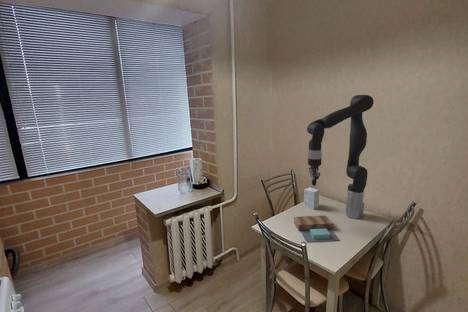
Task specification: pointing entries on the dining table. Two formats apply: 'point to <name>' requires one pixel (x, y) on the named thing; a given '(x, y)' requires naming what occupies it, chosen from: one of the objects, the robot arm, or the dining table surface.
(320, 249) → the dining table surface
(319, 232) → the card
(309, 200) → the small box
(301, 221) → the brown wooden tray
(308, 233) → the mat
